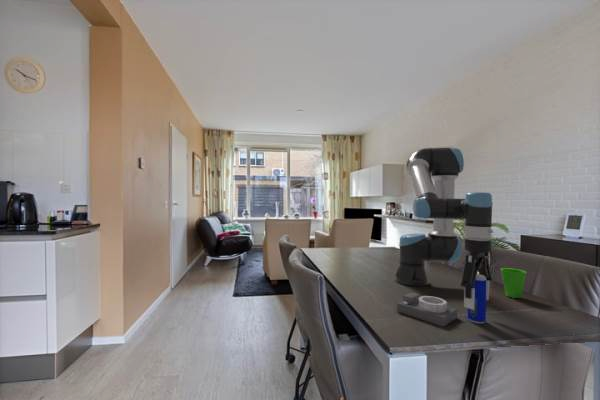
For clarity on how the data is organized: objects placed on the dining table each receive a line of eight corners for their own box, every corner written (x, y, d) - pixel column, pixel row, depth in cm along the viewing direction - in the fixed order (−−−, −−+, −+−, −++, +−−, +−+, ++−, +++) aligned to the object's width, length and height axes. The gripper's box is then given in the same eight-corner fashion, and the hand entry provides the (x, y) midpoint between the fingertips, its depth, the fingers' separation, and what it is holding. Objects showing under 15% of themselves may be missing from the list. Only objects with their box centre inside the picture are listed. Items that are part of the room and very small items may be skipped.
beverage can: (464, 317, 99) (464, 273, 99) (478, 317, 99) (479, 273, 99) (474, 324, 93) (475, 277, 93) (489, 323, 94) (490, 277, 94)
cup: (531, 301, 116) (532, 273, 116) (506, 299, 118) (506, 272, 118) (519, 294, 125) (519, 268, 125) (495, 292, 127) (496, 267, 127)
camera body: (396, 311, 103) (397, 295, 103) (412, 304, 110) (412, 290, 110) (443, 326, 91) (443, 309, 91) (457, 317, 98) (457, 301, 98)
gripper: (477, 243, 85) (475, 316, 85) (502, 237, 102) (501, 298, 102) (450, 240, 91) (449, 308, 91) (478, 235, 107) (477, 293, 107)
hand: (476, 303), depth 96 cm, fingers open, 13 cm apart
